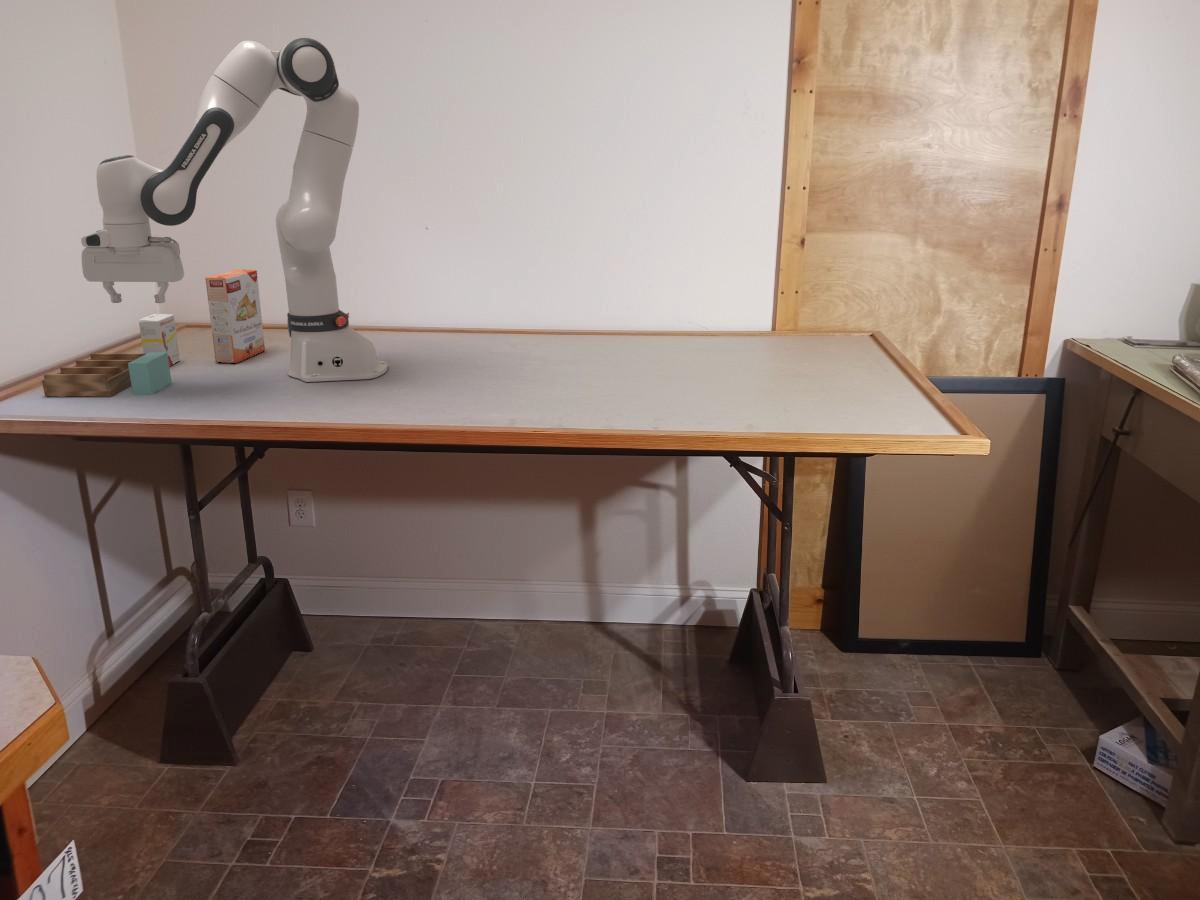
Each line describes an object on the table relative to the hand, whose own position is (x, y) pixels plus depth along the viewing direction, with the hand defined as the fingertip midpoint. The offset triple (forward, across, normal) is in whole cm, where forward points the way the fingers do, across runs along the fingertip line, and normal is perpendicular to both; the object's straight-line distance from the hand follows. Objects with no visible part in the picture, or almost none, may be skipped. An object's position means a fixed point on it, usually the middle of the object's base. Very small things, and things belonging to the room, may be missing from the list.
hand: (138, 302), depth 208 cm
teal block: (+19, 0, 0) cm, 19 cm away
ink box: (+19, +7, -21) cm, 29 cm away
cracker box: (+19, -9, -29) cm, 36 cm away
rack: (+19, +13, -3) cm, 23 cm away
